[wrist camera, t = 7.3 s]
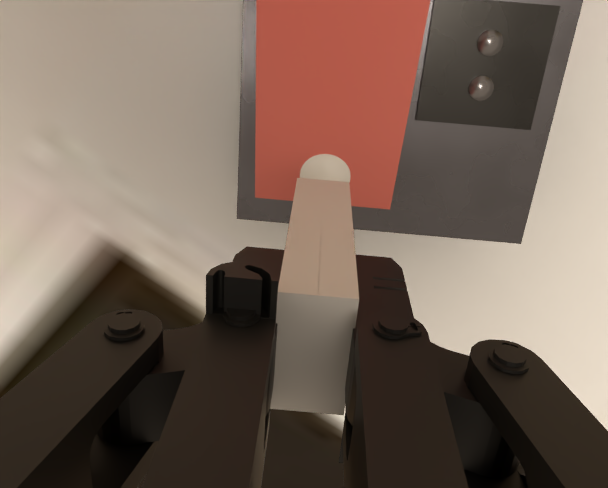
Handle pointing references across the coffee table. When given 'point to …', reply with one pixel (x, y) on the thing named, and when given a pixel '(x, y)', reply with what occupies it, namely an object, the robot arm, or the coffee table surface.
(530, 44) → the power strip
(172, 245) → the coffee table surface
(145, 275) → the coffee table surface
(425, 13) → the plate
